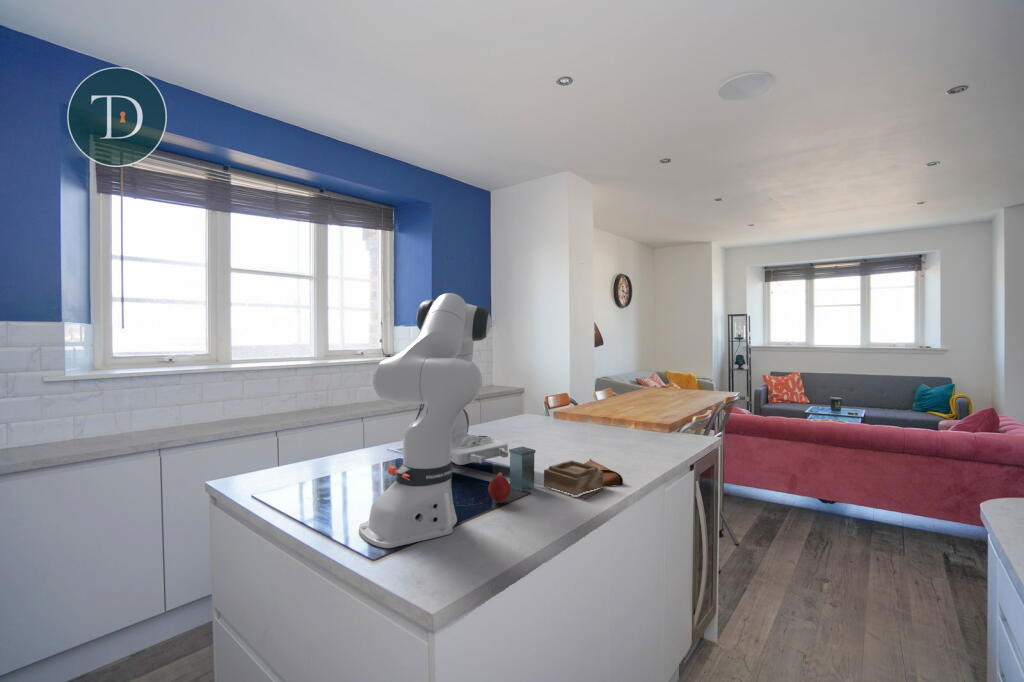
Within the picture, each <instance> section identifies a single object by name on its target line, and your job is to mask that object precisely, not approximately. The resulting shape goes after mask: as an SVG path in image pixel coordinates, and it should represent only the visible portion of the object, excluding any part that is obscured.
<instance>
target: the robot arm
mask: <svg viewBox="0 0 1024 682" xmlns="http://www.w3.org/2000/svg"><path fill="white" fill-rule="evenodd" d="M490 313H491V312H490V311H489V309H488V308H486V307H484V306H481V305H473V304H470V303H467V302H466V301H465V300H464V298H462V297H461V296H460V295H459V294H457V293H453V292H446V293H443V294H441V295H438V297H437V298H436V299H425V300H424V301H422V302H421V303H420V304H419V306H418V308H417V312H416V316H415V317H416V324H417V329H418V330H419V332H418V335H417V336H416V338H415V339H414V340H413V341H412V343H410V344H409V345H408V346H406V348H405V349H403V350H401V351H400V352H399V353H397V354H395V355H393V356H391V357H389V358H386V359H384V360H381V361H380V362H379V364H378V365H377V366H376V367H375V370H374V373H373V376H372V386H373V388H374V391H375V393H376V395H377V396H378V397H379V399H381V400H384V401H389V402H392V403H396V404H408V405H410V404H413V405H419V410H418V413H417V415H416V418H415V419H414V421H413V422H411V423H410V424H408V425H407V426H406V428H405V429H404V431H403V435H402V441H403V442H402V446H403V447H402V449H403V450H402V453H403V454H402V457H403V458H402V459H403V460H402V462H401V465H400V466H399V468H398V467H397V466H394V465H390V466H388V468H387V473H388V474H389V475H391V476H393V477H395V481H394V482H393V483H392V484H391V485H390V486H389V487H388V488H387V489H386V490H385V491H384V492H382V493H381V495H380V496H378V497H377V498H376V499H375V500H374V501H372V504H371V507H370V512H369V519H368V521H364V522H362V523H360V525H359V526H358V534H359V535H360V537H361V538H363V540H365V541H366V542H367V543H369V544H371V545H373V546H375V547H379V548H384V549H392V548H396V547H401V546H404V545H410V544H413V543H416V542H422V541H426V540H430V539H434V538H438V537H439V538H440V537H443V536H447V535H451V534H452V533H453V528H454V526H455V525H456V524H457V522H458V517H457V514H456V511H455V506H454V501H453V500H454V499H453V498H454V497H453V493H452V490H453V489H452V479H453V463H454V464H455V465H458V466H463V465H466V464H472V463H479V464H482V463H485V462H486V460H488V459H489V460H490V459H493V458H498V457H501V458H504V459H505V458H508V457H509V446H508V443H507V442H505V441H502V440H499V439H497V438H491V436H490V435H474V434H468V432H469V428H470V425H469V424H470V418H469V414H468V412H467V411H466V409H465V408H466V407H467V406H469V405H470V404H472V403H473V402H474V401H475V400H476V398H477V397H478V396H479V395H480V392H481V390H482V387H483V385H482V384H483V378H482V373H481V370H480V369H479V367H478V366H477V365H476V363H475V362H473V356H474V354H473V353H474V342H480V341H483V340H485V338H487V336H488V334H489V332H490V330H491V327H492V318H491V314H490Z"/></svg>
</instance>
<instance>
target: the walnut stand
mask: <svg viewBox="0 0 1024 682" xmlns="http://www.w3.org/2000/svg"><path fill="white" fill-rule="evenodd" d="M544 486H547V487H550V488H554V489H557V490H560V491H563V492H567V493H570V494H573V495H578V494H580V493H583V492H586V491H590V490H594V489H597V488H601V487H603V471H600V470H598V468H597V467H593V466H590V465H586V464H584V463H583V462H578V461H575V460H568V461H565V462H561V463H557V464H553V465H549V466H548V468H547V469H544V470H543V487H544ZM603 488H604V487H603Z"/></svg>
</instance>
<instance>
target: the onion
mask: <svg viewBox="0 0 1024 682" xmlns="http://www.w3.org/2000/svg"><path fill="white" fill-rule="evenodd" d="M487 488H488V489H487V490H488V494H489V497H490V498H491V499H492V500H493V501H495V502H496V503H498V502H501V503H503V501H505V500H506V499H507V498H509V496H510V494H511V490H512V489H511V487H510V481H509V480H507V478H506V477H504V476H503V472H498V474H496V476H495V477H493V478H492V479H491V480H490V482H489V485H488V487H487Z"/></svg>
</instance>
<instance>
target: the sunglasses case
mask: <svg viewBox="0 0 1024 682" xmlns="http://www.w3.org/2000/svg"><path fill="white" fill-rule="evenodd" d="M583 464H586V465H590V466H593V467H597V468H598V470H600V471H603V486H608V487H614V486H613V485H617V486H622V485H623V483H624V479H623V476H622V475H621V474H619V473H618V472H617V471H614V470H611V469H610V468H608V467H606V466H604V465H602V464H600V463H598V462H596V461H594V460H592V458H589V460H588V461H586V462H584V463H583Z"/></svg>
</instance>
